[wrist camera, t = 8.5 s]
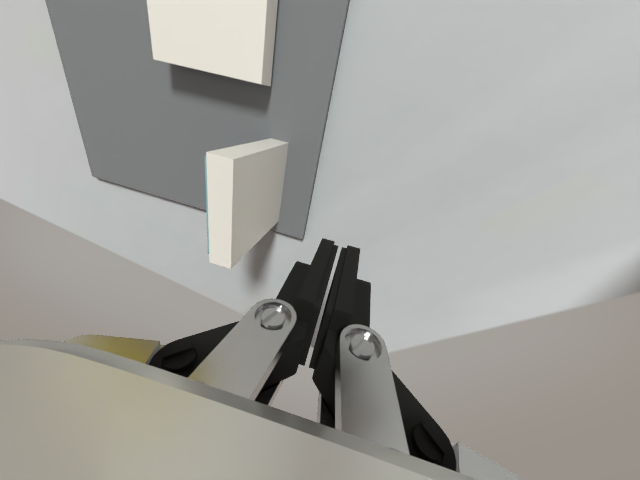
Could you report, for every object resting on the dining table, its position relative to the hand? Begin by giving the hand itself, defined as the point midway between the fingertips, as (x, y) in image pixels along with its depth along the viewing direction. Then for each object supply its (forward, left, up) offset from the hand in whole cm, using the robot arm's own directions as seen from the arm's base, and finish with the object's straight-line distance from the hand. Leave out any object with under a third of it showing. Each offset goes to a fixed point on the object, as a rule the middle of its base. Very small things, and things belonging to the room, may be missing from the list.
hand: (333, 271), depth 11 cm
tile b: (+6, 0, -8) cm, 10 cm away
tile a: (+7, -9, -7) cm, 14 cm away
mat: (+13, -4, -8) cm, 16 cm away
